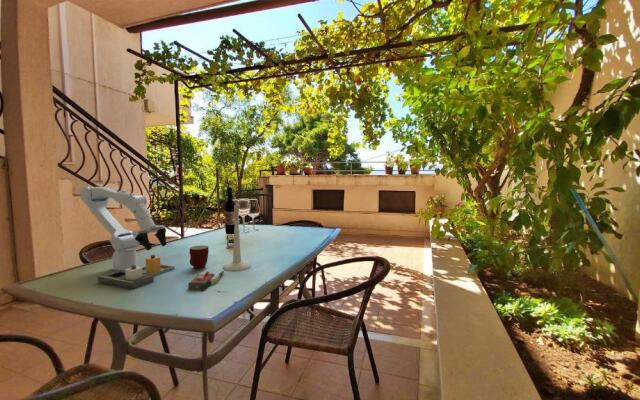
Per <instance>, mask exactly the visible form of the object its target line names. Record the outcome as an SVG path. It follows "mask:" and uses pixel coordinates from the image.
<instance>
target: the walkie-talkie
mask: <svg viewBox="0 0 640 400" xmlns="http://www.w3.org/2000/svg"><path fill="white" fill-rule="evenodd" d="M224 273H225V270H221V272H220V273H218V274H217V275H216V274H214V273H209V271H208V270H207V271H201V272H200V273H199V274H197V276H195V277H193V279H191V281H189V282H188V283H187V284H188V286H187V287H188V288H187V289H188V290H190V291H191V290H193V291H194V290H195V291H198V290H199V291H200V290H201V291H203V290H206V289H207V288H208V287H210V286H211V285H215V284H217V283H218V282H219V281H220V280H221V276H222V275H223V274H224Z"/></svg>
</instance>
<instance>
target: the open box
mask: <svg viewBox="0 0 640 400" xmlns="http://www.w3.org/2000/svg"><path fill="white" fill-rule="evenodd" d="M154 277H155V276H153V275H147V274H142V277H141V278H138V279H136V280H127V279H126V276H125V271H123V270H119V271H118V270H114V271H113V272H109V273H106V274H102V275H98V277H97V279H98V280H97V282H98V283H99V284H104V285H108V286H109V285H110V286H114V287H119V288H124V289H129V290H134V289H137V288H141V287H143V286H145V285H148V284H151V283H154V281H155V278H154Z"/></svg>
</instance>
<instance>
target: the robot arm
mask: <svg viewBox="0 0 640 400" xmlns="http://www.w3.org/2000/svg"><path fill="white" fill-rule="evenodd" d="M109 199H113V200H114V201H115V202H116V203H117V204H119V205H120V204H121V205H122V206H125V208H127V209H128V210H129V211H130V213H132V214H133V216H134V219H135V220H136V223H137V225H138V226H139V229H137V230H134V231H131V230H130V229H126V228H124V227H123V226H122V225H121V224H120V222H119V221H117V219H116V218H115V217H114V216H113V214H111V212H110V211H109V210H108V209H107V208H106V206H107V205H108V202H109ZM80 200H81V201H82V202H83V203H84V204H85V205H86V207H88V209H89V210H90V212H91V214H92V215H93V216H94V218H96V219H97V220H98V222H99V223H100V224H101V225H102V226H103V228H104V229H105V230H106V231H107V232H108V233H109V234H110V235H111V236H110V238H109V243H110V245H111V247H112V248H113V250H114V251H113V254H112V256H111V257H112V258H111V259H112V268H111V270H113V271H119V270H123V271H125V270H126V269H129V268H131V266H132V265H136V267H139V268H142V266H139V265H137V249H138V247H139V246H140V244H141V246H143V247H144V248H145V250H146V251H148V252H149V251H150V250H152V245H151V243H150V240H149V235H148V234H151V233H155V234H154V236H155V237H156V238H157V240H158V241H159V243H160V245H161V246H162V247H165V246H167V239H166V238H167V237H166V232H167V229H166V227H165V225H163V224H162V225H157V224H155V222H154V220H153V218H152V215H151V213H150V212H149V209H148V207H147V206H146V205H147V198H146V197H145V196H144V195H143V194H137V195H136V194H135V193H133V192H131V193H130V192H127V190H124V189H122V190H119V191H117V190H115V189H112V188H110V187H108V186H90V187H88V186H84V187H82V188H81V190H80Z"/></svg>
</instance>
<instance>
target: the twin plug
mask: <svg viewBox="0 0 640 400" xmlns="http://www.w3.org/2000/svg"><path fill="white" fill-rule="evenodd" d="M125 276H126V279H127V280H136V279H138V278H141V277H142V267H136V265H132V266H131V268H129V269H126V270H125Z"/></svg>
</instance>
